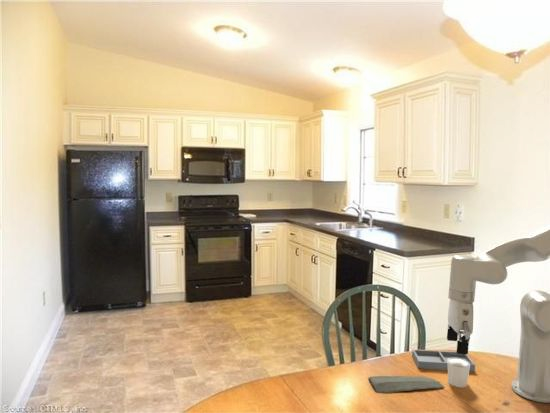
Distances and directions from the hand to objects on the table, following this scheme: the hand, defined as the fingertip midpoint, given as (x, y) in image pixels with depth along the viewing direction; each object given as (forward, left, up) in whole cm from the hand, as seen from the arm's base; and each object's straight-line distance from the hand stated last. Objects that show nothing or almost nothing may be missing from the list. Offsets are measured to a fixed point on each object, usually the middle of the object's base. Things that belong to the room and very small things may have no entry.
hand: (456, 346), depth 133 cm
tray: (0, -13, -12) cm, 18 cm away
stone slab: (+16, +3, -13) cm, 21 cm away
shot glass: (-1, 0, -12) cm, 12 cm away
